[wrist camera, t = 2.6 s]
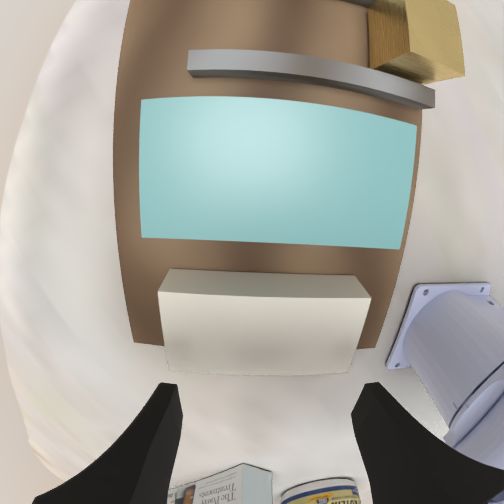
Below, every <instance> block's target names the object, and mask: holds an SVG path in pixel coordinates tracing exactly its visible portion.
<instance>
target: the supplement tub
mask: <svg viewBox="0 0 504 504" xmlns="http://www.w3.org/2000/svg"><path fill="white" fill-rule="evenodd" d="M281 504H361V501H360V497H359V493H358V489H357V486H356V484H355V483H354V482H353V481H351V480H348V479H327V480H320V481H315V482H311V483H307V484H304V485H300V486H297V487H295V488H292V489H290V490H289V491H287V492H286V493H285V494H284V495H283V496H282V498H281Z"/></svg>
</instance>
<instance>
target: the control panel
mask: <svg viewBox="0 0 504 504" xmlns="http://www.w3.org/2000/svg"><path fill="white" fill-rule="evenodd" d="M376 1H377V0H130V4H129V9H128V13H127V18H126V23H125V28H124V34H123V40H122V46H121V52H120V60H119V67H118V76H117V86H116V97H115V111H114V134H113V181H114V204H115V219H116V231H117V242H118V251H119V259H120V267H121V274H122V281H123V288H124V294H125V300H126V306H127V311H128V316H129V321H130V326H131V331H132V336H133V340H134V342H136V343H144V344H152V345H161V346H165V345H164V338H163V331H162V324H161V317H160V309H159V300H158V290H159V288H160V286H161V284H162V282H163V280H164V279H165V277H166V275H167V273H168V271H169V270H170V269H188V270H208V271H230V272H254V273H281V274H314V275H355V277H356V278H357V279H358V281H359V282H360V283H361V284H362V286H363V287H364V288H365V290H366V291H367V292H368V294H369V295H370V296H371V302H370V305H369V309H368V312H367V316H366V319H365V323H364V326H363V329H362V332H361V336H360V339H359V342H358V345H357V348H356V349H365V348H375V346H376V343H377V341H378V338H379V335H380V332H381V329H382V326H383V323H384V320H385V317H386V314H387V311H388V308H389V305H390V301H391V298H392V294H393V291H394V287H395V284H396V280H397V276H398V273H399V269H400V265H401V261H402V257H403V252H404V248H405V243H406V239H407V234H408V229H409V224H410V219H411V213H412V207H413V201H414V195H415V188H416V180H417V172H418V163H419V153H420V141H421V125H422V109H429V108H435V90H434V89H431V88H429V87H426V86H423V85H421V84H418V83H415V82H412V81H409V80H406V79H403V78H400V77H397V76H394V75H391V74H388V73H384V72H381V71H377V70H374V69H370V53H369V26H368V10H367V9H368V8H369V7H370V6H371V5H372V4H374V3H375V2H376ZM196 96H226V97H253V98H268V99H280V100H290V101H299V102H307V103H314V104H321V105H328V106H334V107H339V108H345V109H350V110H355V111H360V112H365V113H370V114H374V115H378V116H383V117H387V118H391V119H395V120H398V121H402V122H406V123H409V124H413V125H416V126H417V132H416V146H415V157H414V167H413V175H412V183H411V190H410V197H409V204H408V210H407V215H406V221H405V226H404V231H403V236H402V241H401V246H400V249H383V248H365V247H347V246H327V245H308V244H287V243H266V242H243V241H220V240H195V239H168V238H142V235H141V219H140V195H139V138H140V114H141V100H144V99H156V98H170V97H196Z"/></svg>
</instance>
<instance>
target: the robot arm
mask: <svg viewBox="0 0 504 504" xmlns="http://www.w3.org/2000/svg"><path fill="white" fill-rule="evenodd" d="M425 290H426V291H425ZM490 290H491V284H490V283H457V284H419V285H417V286H416V287H415V288H414V290H413V293H412V296H411V300H410V303H409V306H408V309H407V312H406V315H405V317H404V320H403V323H402V326H401V328H400V331H399V334H398V336H397V339H396V342H395V344H394V347H393V349H392V351H391V354H390V356H389V359H388V361H387V363H386V367H387V369H388V370H393V369H399V368H406V367H411V366H412V367H413V368H414V370H415V372H416V373H417V375H418V376H419V378H420V380H421V381H422V383H423V385H424V386H425V388H426V390H427V391H428V393H429V395H430V396H431V398H432V400H433V401H434V403H435V405H436V406H437V408H438V410H439V412H440V413H441V415H442V417H443V419H444V420H445V422H446V424H447V426H448V428H449V429H450V430H449V431H448V433H447V434H446V435H445V436H444V437H443V438H444V440H445V442H446V444H445V443H444V442H443V441H441V440H440V439H438V438H437V437H436V436H434V435H433V434H432V433H431V432H429V431H428V430H427V429H426V428H425V427H424V426H422V425H421V424H420V423H419V422H418V421H417V420H416V419H415V418H414V417H413V416H411V415H410V414H409V413H408V412H407V411H406V410H405V409H404V408H403V407H402V406H401V405H400V404H399V403H398V401H397V400H396V399H395V398H394V397H393V396H392V395H391V394H390V393H389V392H388V391H387V390H386V389H385V388H384V387H383V386H382V385H381V384H380V383H379V382H375V383H367V384H365V385H364V388H363V390H362V392H361V394H360V396H359V399H358V401H357V403H356V405H355V407H354V409H353V411H352V413H351V417H352V423H353V428H354V434H355V437H356V441H357V444H358V447H359V450H360V453H361V456H362V459H363V462H364V465H365V468H366V471H367V475H368V478H369V482H370V487H371V493H372V499H373V504H504V308H503V307H502V306H501V305H500V304H499V303H498V302H496V301H495V300H494V299H493V298H492V297H490V296H489V293H490ZM424 291H425V292H424ZM423 292H424V293H423ZM182 419H183V413H182V408H181V403H180V398H179V393H178V387H177V384H169V383H160V384H159V385H158V386H157V388H156V390H155V391H154V393H153V394H152V396H151V397H150V399H149V400H148V402H147V403H146V404H145V406H144V407H143V409H142V410H141V411H140V413H139V414H138V415H137V416H136V418H135V419H134V420H133V422H132V423H131V424H130V425H129V427H128V428H127V429H126V430H125V431H124V432H123V434H122V435H121V436H120V437H119V438H118V439H117V440H116V441H115V442H114V443H113V444H112V445H111V447H110V448H108V449H107V450H106V451H105V452H104V453H103V454H102V455H101V456H100V457H99V458H98V459H97V460H95V461H94V462H93V463H92V464H90V465H89V466H88V467H87V468H85V469H84V470H83V471H81V472H80V473H79V474H77V475H76V476H74V477H72V478H71V479H69V480H68V481H66V482H65V483H63V484H61V485H60V486H58V487H56V488H54V489H52V490H50V491H48V492H46V493H44V494H41V495H39V496H37V497H35V499H34V501H33V503H32V504H167V498H168V489H169V483H170V479H171V475H172V470H173V466H174V462H175V458H176V454H177V450H178V445H179V441H180V436H181V428H182Z"/></svg>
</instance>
